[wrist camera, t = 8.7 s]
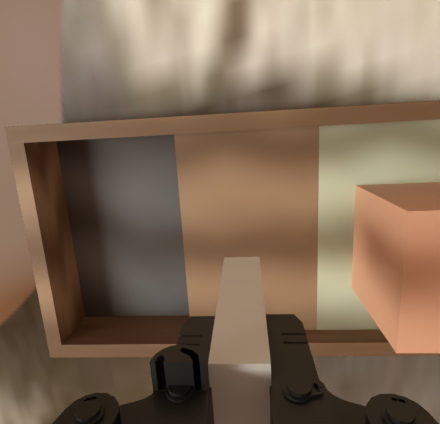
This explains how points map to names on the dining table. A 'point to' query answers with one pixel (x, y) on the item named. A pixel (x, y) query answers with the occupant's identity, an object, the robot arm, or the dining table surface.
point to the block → (399, 262)
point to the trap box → (209, 218)
